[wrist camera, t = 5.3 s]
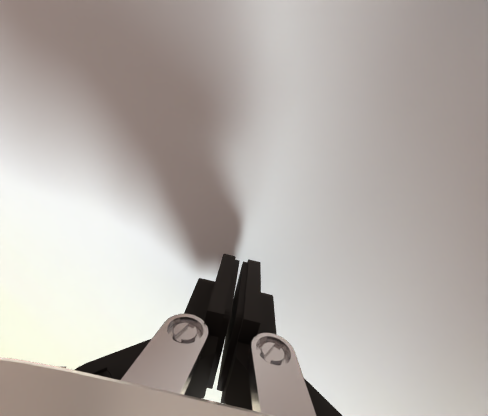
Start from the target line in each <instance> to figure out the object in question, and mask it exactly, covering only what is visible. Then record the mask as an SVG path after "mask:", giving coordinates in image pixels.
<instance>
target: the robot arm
mask: <svg viewBox="0 0 488 416" xmlns="http://www.w3.org/2000/svg"><path fill="white" fill-rule="evenodd" d="M238 267H239V261H238V260H235V256H231V255H227V254H224V255H223V258H222V261H221V265H220V268H219V271H218V275H217V278H216V281H215V282H214V281H210V280H206V279H201V278H199V279H198V282H197V284H196V286H195V289H194V291H193V294H192V296H191V298H190V301H189V303H188V305H187V308H186V310H185V312H184V314H178V315H174V316H172V317H170V318H168V319H167V320H166V321H165V322H164V324H163V325H162V326H161V327H160V329H159V330H158V331H157V333H156V334H155V335H154V337H153V338H152V339H150V340H147V341H144V342H142V343H139V344H136V345H134V346H131V347H128V348H126V349H123V350H120V351H118V352H115V353H112V354H110V355H107V356H104V357H102V358H99V359H96V360H94V361H91V362H88V363H86V364H84V365H82V366H80V367H78V368H77V369H75V370H71V369H67V368H66V367H57V366H52V365H46V364H41V363H35V362H30V361H24V360H19V359H11V358H2V357H0V416H342V415H341V414H340V413H339V412H338V411H337V410H336V409H335V408H334V407H333V406H332V405H331V404H330V403H329V402H328V401H327V400H326V399H325V398H324V397H323V396H322V395H321V394H320V393H319V392H318V391H317V390H316V389H315V388H314V387H313V386H312V385H311V384H310V383H309V382H307V381H306V380H305V379H304V377H303V374H302V371H301V368H300V365H299V363H298V360H297V357H296V354H295V351H294V349H293V347H292V346H291V345H290V344H289V342H288V341H286V340H285V339H284V338H282V337H280V336H278V335H276V325H275V313H274V301H273V296H272V295H269V294H265V293H261V275H260V262H257V261H252V260H248V262H243V264H242V267H241V271H240V275H239V279H238V283H237V287H236V291H235V285H236V279H237V273H238ZM234 292H235V295H234ZM233 298H234V299H233ZM225 336H226V338H225ZM224 340H225V344H224ZM223 344H224V350H223V356H222V362H221V368H220V374H219V380H218V386H217V390H219V391H222V398H221V403H218V402H214V401H209V400H205V399H201V398H204V396H205V392H206V388H211V389H212V387H213V384H214V380H215V376H216V372H217V368H218V364H219V360H220V356H221V352H222V348H223ZM222 403H224V404H222Z"/></svg>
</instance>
